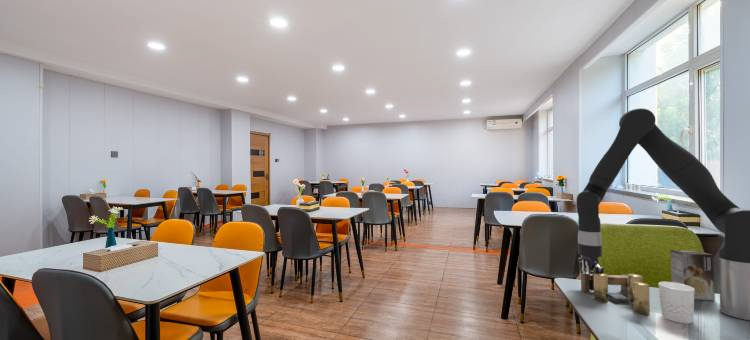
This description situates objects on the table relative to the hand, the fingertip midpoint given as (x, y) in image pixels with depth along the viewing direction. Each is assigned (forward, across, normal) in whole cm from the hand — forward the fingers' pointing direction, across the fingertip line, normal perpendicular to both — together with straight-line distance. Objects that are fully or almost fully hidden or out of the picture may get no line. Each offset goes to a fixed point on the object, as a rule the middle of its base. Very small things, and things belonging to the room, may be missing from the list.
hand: (590, 288), depth 117 cm
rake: (+1, 0, -6) cm, 6 cm away
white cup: (+1, -21, -14) cm, 25 cm away
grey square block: (+2, -8, -4) cm, 10 cm away
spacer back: (+1, -18, -6) cm, 19 cm away
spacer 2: (+1, -8, -10) cm, 13 cm away
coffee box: (+1, -1, -34) cm, 34 cm away
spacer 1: (+1, -8, +1) cm, 9 cm away
